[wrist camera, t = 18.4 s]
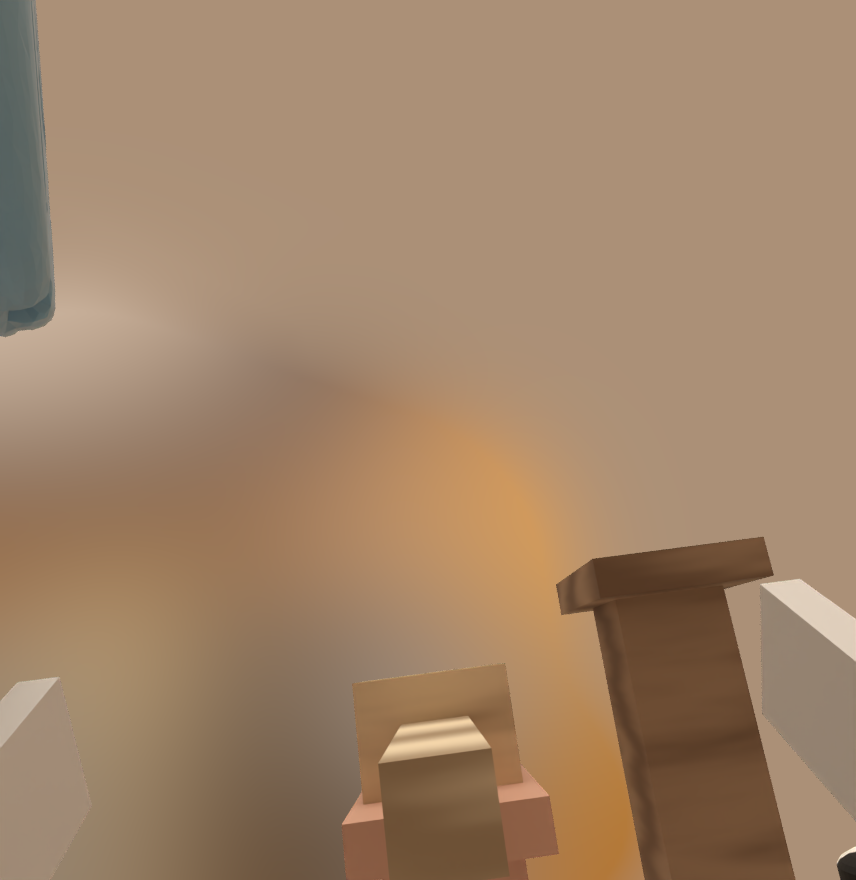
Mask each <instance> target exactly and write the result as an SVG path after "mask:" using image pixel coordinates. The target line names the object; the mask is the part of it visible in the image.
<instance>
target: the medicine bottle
mask: <svg viewBox="0 0 856 880" xmlns="http://www.w3.org/2000/svg"><path fill="white" fill-rule="evenodd" d="M837 867H838V871H839V875H840V879H841V880H856V847H854V848H852V849H850V850H848V851H846V852H845V853H843V854H842V855H840V857H839V859H838V862H837Z"/></svg>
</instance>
